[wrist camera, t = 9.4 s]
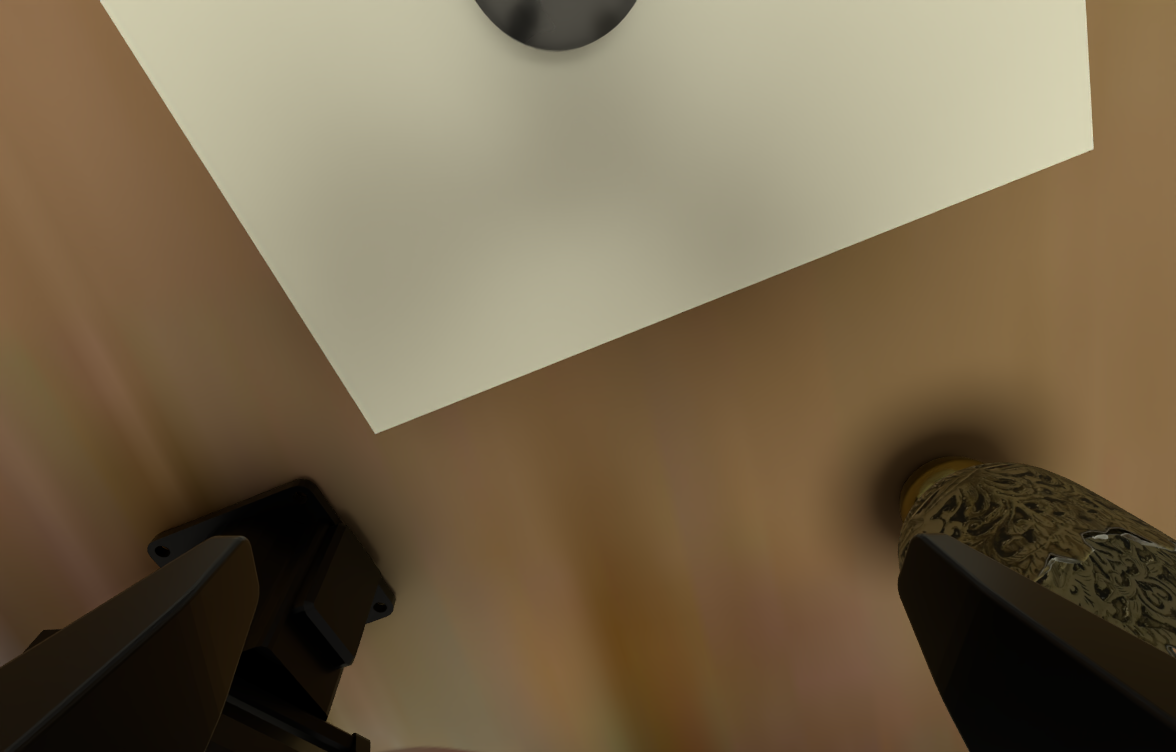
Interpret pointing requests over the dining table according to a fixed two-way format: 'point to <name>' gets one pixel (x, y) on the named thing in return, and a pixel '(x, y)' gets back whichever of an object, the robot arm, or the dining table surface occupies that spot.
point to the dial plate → (588, 157)
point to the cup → (1051, 538)
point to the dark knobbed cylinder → (556, 21)
